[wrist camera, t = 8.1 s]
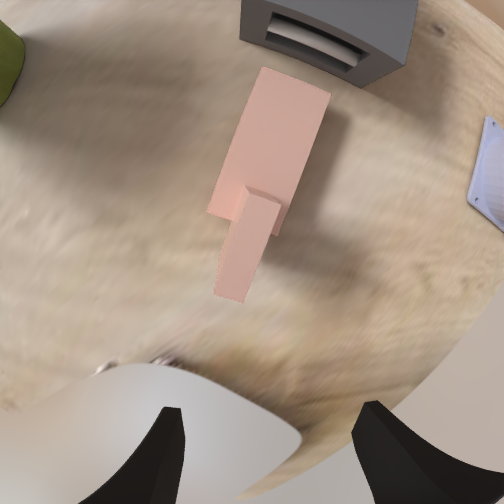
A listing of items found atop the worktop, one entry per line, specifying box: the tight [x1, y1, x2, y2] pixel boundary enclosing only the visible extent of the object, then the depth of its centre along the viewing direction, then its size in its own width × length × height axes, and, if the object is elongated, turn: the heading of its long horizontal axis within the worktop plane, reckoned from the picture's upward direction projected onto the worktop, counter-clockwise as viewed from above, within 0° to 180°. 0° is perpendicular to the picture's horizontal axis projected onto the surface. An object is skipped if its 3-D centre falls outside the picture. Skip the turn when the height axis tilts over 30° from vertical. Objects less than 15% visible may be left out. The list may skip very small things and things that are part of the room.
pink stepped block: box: [207, 66, 331, 303], centre depth 12 cm, size 4×10×5 cm, turn 160°
